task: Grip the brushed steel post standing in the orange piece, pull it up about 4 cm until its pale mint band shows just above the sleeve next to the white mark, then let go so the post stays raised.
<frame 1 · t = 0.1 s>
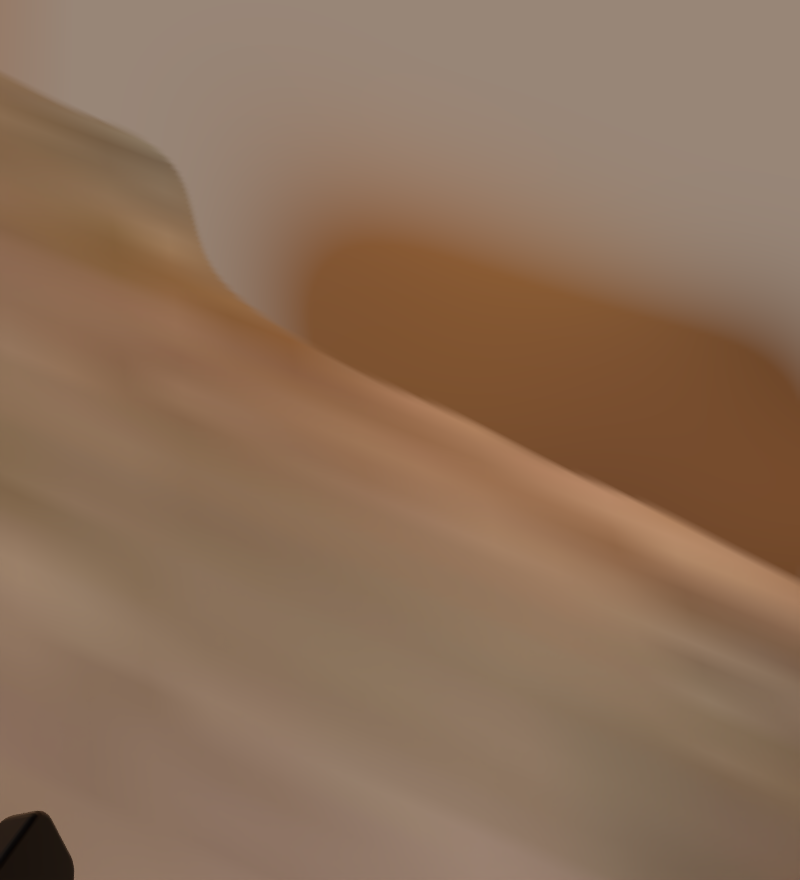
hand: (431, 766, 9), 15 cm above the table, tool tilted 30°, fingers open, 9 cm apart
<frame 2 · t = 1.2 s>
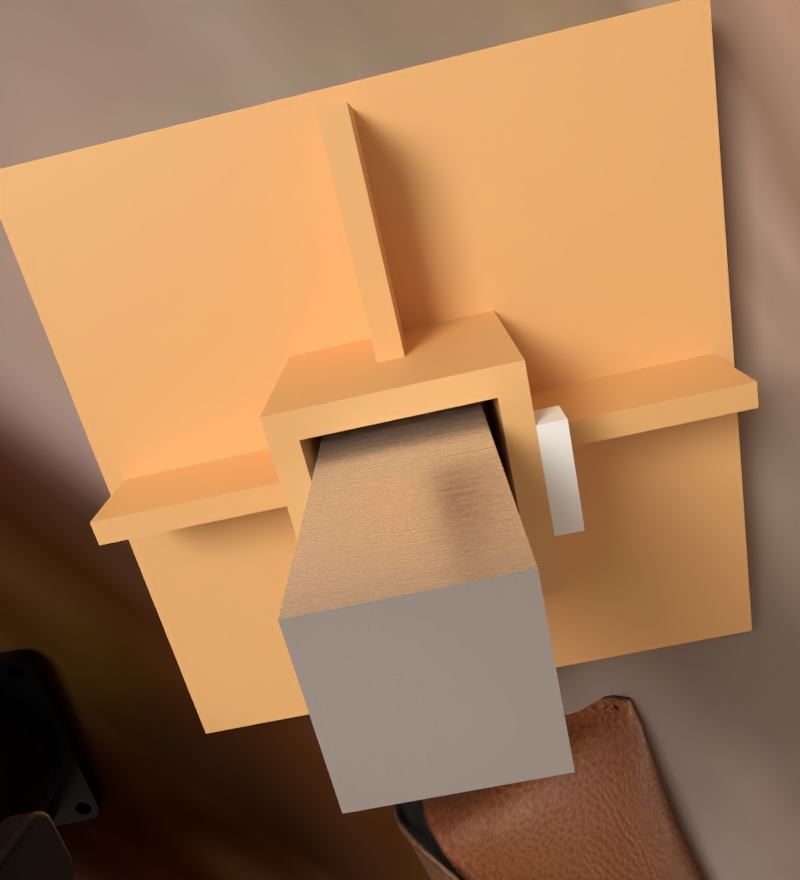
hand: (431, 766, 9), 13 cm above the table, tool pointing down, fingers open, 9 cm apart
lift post: (419, 520, 14), point 7 cm above the table, slide at 0.0 cm, touching orange piece
orange piece: (411, 409, 20), on the table
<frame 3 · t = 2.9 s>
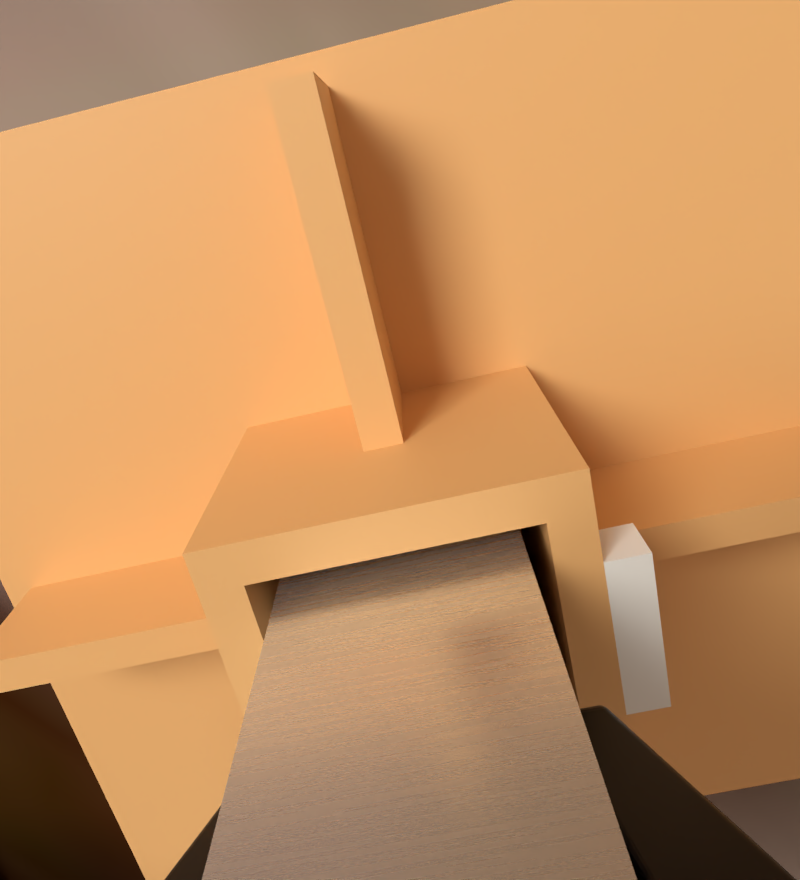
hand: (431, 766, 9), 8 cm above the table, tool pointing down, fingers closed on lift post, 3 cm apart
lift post: (427, 705, 9), point 6 cm above the table, slide at 0.0 cm, touching gripper, orange piece
orange piece: (413, 487, 16), on the table
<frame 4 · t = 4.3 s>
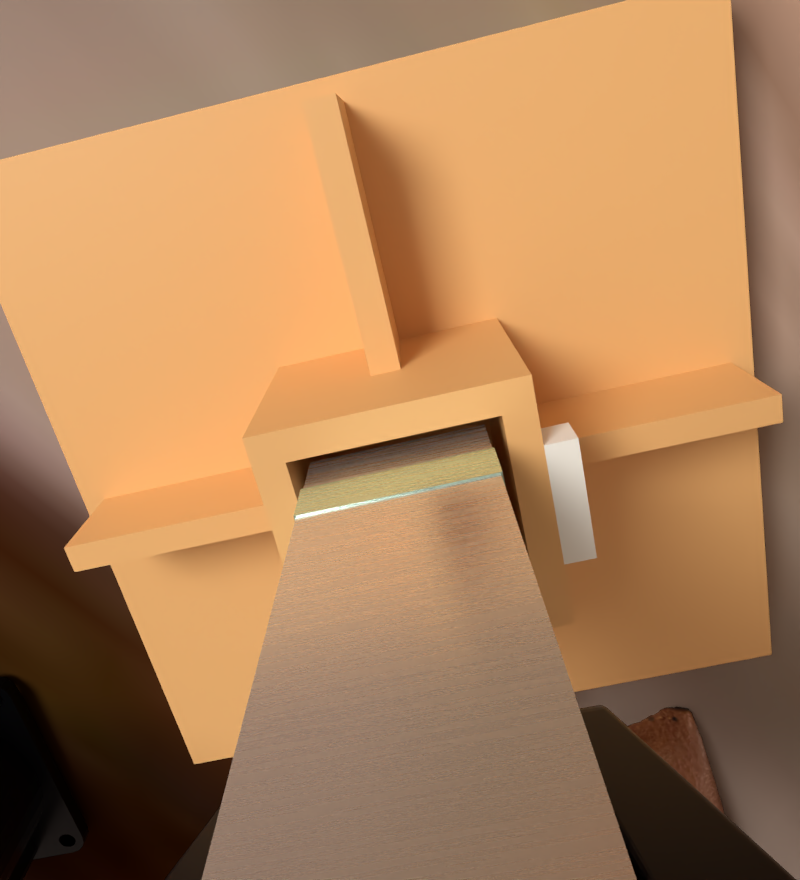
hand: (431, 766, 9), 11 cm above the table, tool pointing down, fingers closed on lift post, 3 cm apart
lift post: (427, 704, 9), point 10 cm above the table, slide at 3.9 cm, touching gripper
orange piece: (409, 422, 19), on the table
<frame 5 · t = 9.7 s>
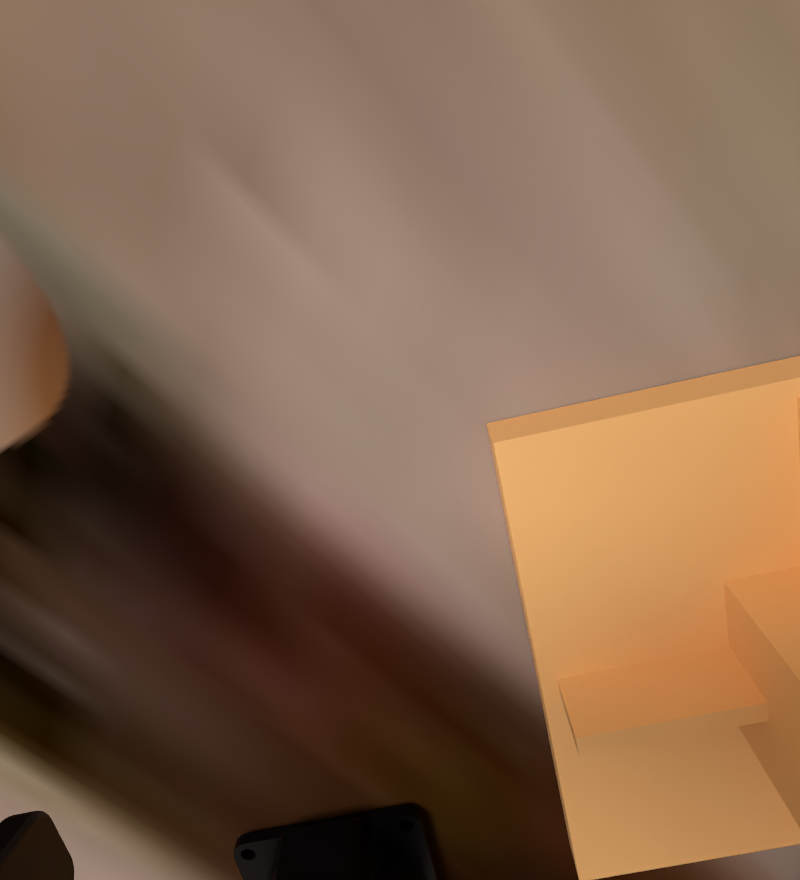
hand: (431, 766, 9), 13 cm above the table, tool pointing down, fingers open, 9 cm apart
orange piece: (791, 608, 23), on the table
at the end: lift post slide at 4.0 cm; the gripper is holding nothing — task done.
